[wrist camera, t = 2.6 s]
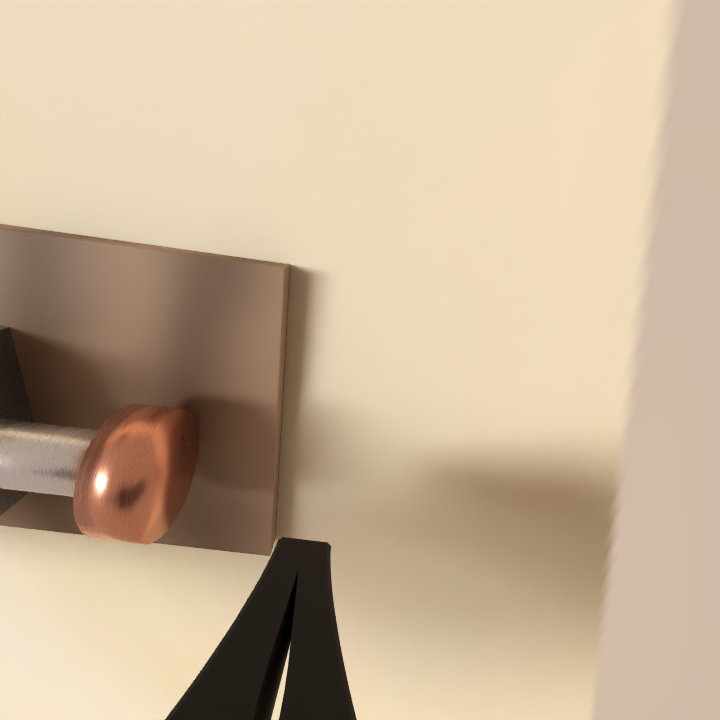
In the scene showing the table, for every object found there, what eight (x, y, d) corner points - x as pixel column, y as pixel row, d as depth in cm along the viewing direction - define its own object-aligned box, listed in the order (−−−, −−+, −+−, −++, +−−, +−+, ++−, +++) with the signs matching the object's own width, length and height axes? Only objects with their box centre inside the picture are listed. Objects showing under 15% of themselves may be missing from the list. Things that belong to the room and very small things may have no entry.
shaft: (196, 387, 13) (121, 463, 9) (201, 478, 15) (139, 576, 11) (-75, 352, 13) (-276, 416, 9) (-39, 449, 15) (-193, 539, 11)
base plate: (290, 264, 13) (284, 268, 12) (275, 538, 18) (270, 556, 17) (-252, 188, 12) (-303, 187, 11) (-102, 495, 18) (-128, 510, 17)
